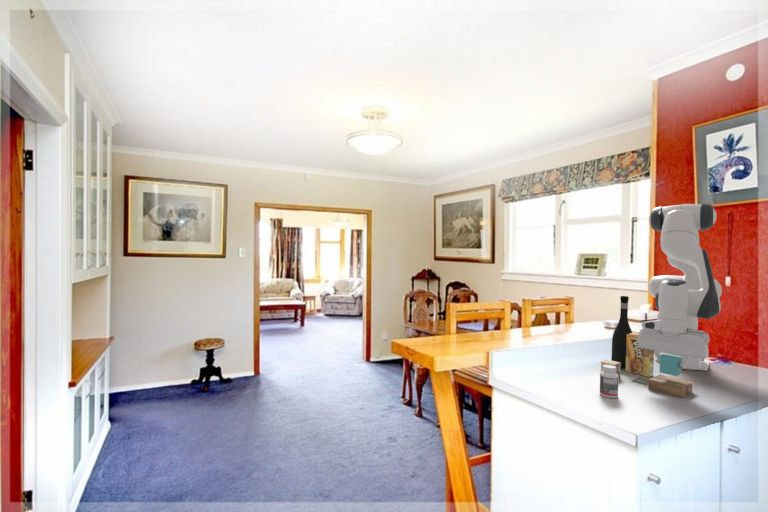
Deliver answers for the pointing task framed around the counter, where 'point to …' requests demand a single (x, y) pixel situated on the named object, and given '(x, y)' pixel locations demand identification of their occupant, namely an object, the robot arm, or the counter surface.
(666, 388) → the walnut plinth
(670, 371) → the teal block
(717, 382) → the counter surface
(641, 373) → the candy box
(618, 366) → the birch block
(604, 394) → the pill bottle
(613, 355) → the wine bottle
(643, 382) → the card
